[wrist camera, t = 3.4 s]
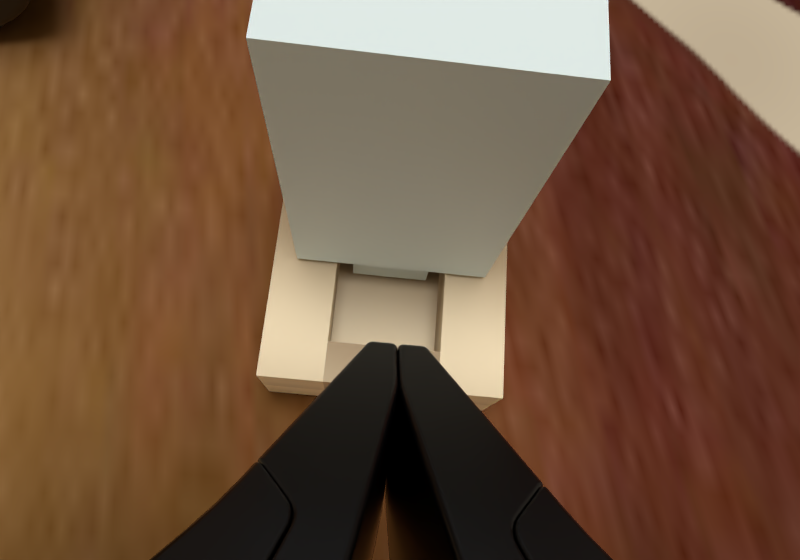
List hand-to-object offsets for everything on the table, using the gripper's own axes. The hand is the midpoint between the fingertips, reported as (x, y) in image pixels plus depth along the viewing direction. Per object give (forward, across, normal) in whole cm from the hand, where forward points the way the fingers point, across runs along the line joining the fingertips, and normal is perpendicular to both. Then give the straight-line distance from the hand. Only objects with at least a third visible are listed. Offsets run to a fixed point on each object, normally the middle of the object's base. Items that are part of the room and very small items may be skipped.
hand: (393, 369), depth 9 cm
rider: (+9, 0, +1) cm, 9 cm away
